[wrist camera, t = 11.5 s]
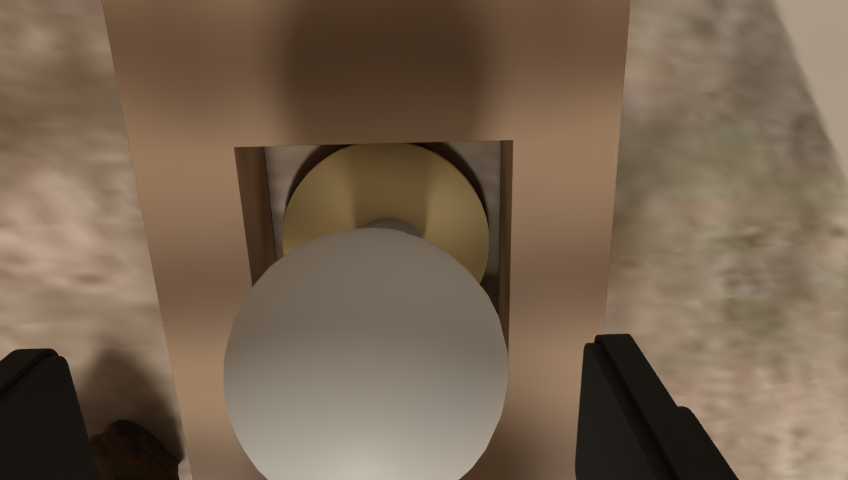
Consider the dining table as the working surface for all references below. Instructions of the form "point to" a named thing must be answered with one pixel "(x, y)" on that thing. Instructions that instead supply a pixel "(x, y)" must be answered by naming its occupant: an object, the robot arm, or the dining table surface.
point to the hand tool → (131, 454)
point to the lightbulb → (366, 361)
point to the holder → (378, 175)
